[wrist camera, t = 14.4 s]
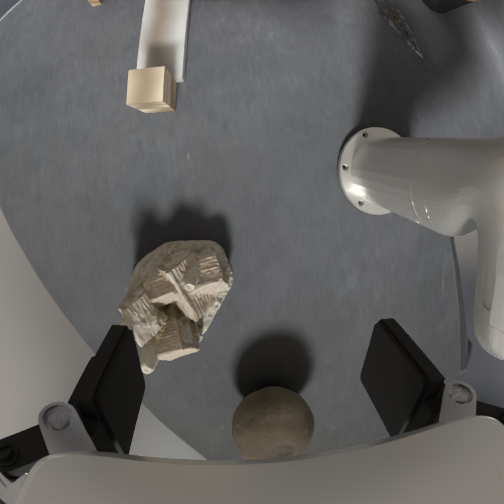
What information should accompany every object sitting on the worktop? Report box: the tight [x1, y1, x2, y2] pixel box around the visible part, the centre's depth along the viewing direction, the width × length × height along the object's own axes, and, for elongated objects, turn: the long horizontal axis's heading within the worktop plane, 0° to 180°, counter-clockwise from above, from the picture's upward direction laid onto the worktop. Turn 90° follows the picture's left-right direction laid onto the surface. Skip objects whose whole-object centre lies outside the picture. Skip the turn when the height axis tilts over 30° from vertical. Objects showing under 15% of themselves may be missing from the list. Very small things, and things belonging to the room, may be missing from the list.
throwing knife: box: [375, 0, 424, 61], centre depth 30 cm, size 4×20×1 cm, turn 37°
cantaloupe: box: [232, 386, 314, 460], centre depth 44 cm, size 14×14×15 cm
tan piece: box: [127, 0, 191, 113], centre depth 27 cm, size 6×24×8 cm, turn 178°
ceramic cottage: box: [117, 240, 233, 374], centre depth 36 cm, size 16×16×15 cm
